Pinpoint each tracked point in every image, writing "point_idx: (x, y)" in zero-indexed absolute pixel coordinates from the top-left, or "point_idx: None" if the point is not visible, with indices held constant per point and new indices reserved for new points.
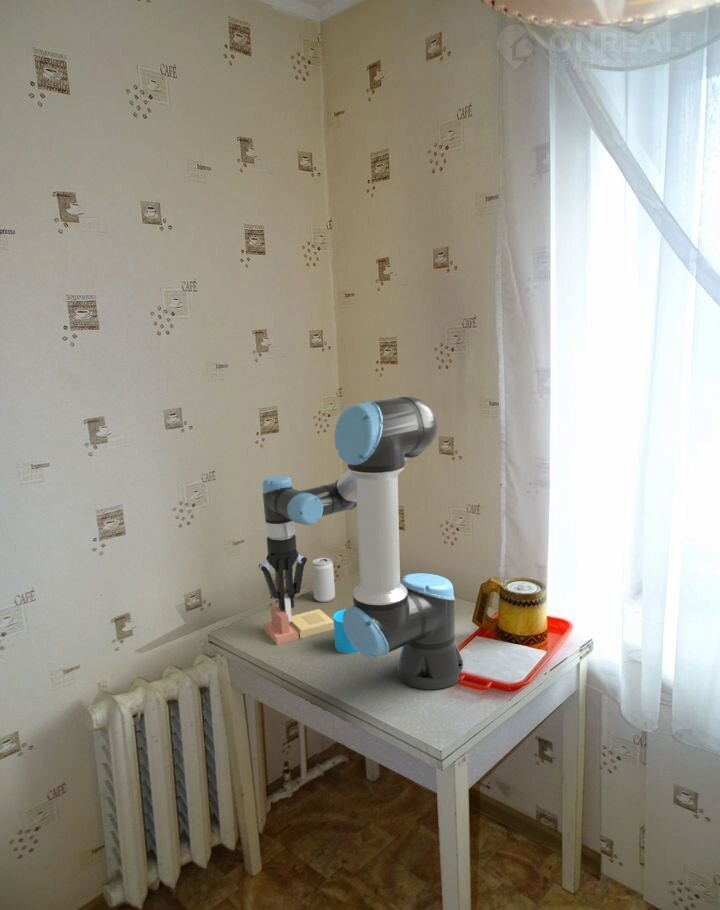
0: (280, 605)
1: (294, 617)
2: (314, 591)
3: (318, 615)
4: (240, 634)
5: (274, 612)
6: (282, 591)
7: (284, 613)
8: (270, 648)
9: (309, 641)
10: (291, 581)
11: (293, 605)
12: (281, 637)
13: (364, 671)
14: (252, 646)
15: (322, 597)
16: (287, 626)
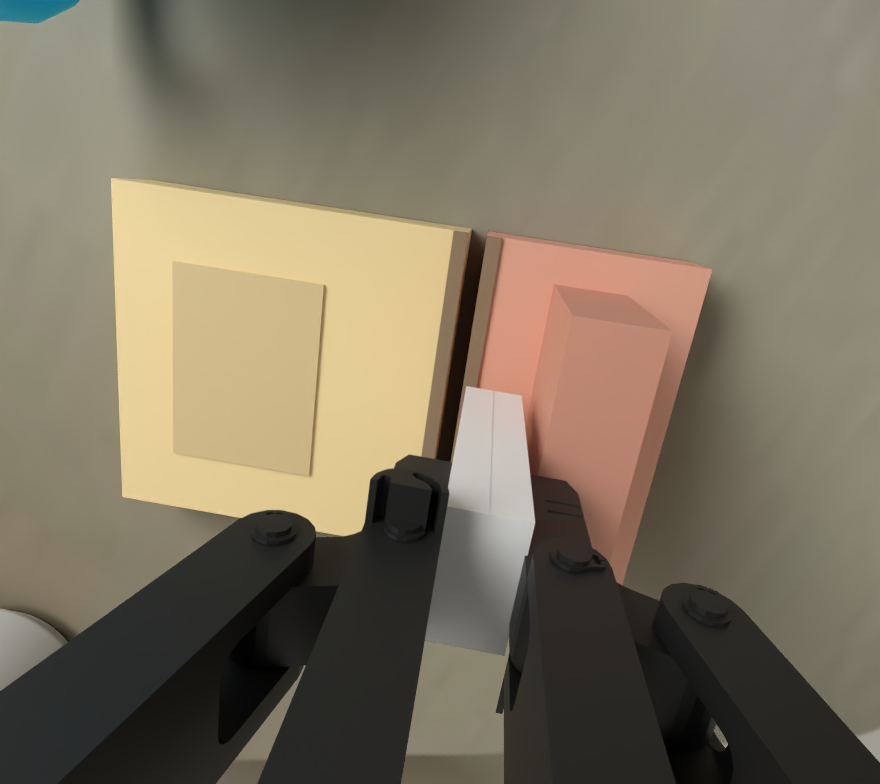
0: (581, 520)
1: (365, 504)
2: None
3: (181, 393)
4: (781, 610)
5: (610, 538)
6: (579, 633)
7: (564, 414)
8: (771, 242)
9: (441, 119)
10: (318, 743)
11: (403, 466)
12: (657, 261)
13: None
14: (852, 381)
15: (24, 646)
16: (578, 296)
